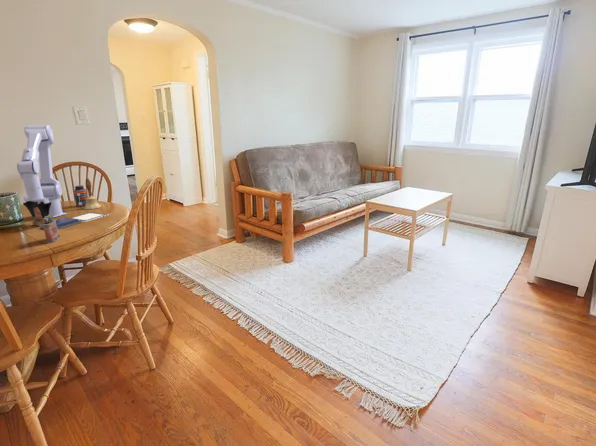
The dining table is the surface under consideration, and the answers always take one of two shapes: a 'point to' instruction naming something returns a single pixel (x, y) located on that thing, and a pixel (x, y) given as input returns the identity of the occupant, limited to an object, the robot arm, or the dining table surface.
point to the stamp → (38, 217)
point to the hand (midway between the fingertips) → (40, 217)
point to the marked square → (89, 216)
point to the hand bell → (90, 198)
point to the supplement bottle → (80, 196)
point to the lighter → (50, 229)
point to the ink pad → (65, 222)
